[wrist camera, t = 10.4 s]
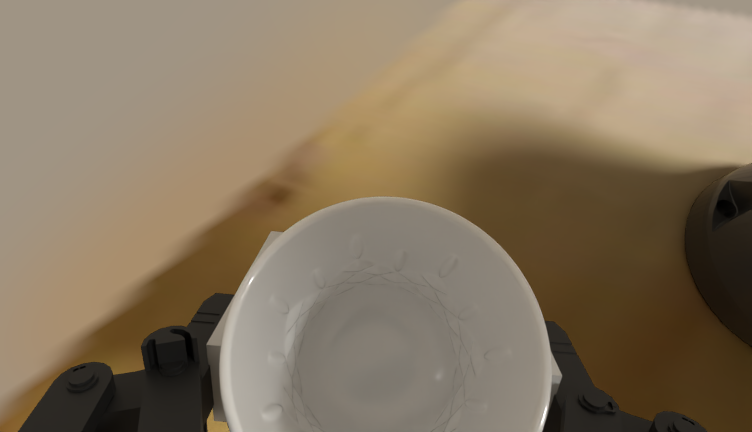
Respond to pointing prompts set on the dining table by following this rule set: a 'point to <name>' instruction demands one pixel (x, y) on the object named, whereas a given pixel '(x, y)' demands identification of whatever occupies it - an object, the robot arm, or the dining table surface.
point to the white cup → (385, 328)
